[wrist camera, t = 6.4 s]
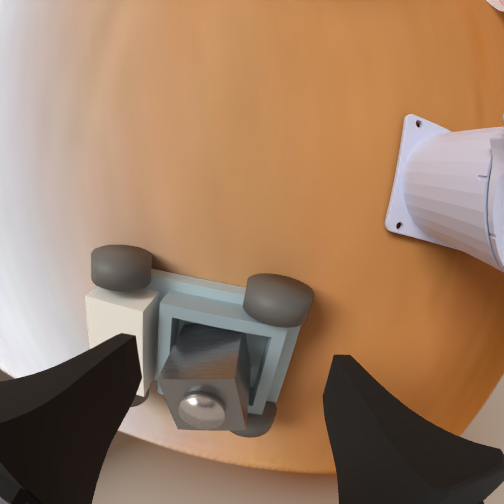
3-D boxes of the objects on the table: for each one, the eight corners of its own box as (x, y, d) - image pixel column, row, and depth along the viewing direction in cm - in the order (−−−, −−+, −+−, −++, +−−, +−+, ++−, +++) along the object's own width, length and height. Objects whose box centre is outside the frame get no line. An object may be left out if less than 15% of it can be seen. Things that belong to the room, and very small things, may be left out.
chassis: (309, 280, 19) (319, 308, 15) (271, 405, 22) (272, 442, 18) (109, 241, 19) (77, 258, 15) (113, 368, 22) (93, 398, 18)
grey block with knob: (243, 319, 19) (233, 386, 13) (251, 367, 20) (245, 437, 14) (184, 323, 19) (153, 386, 13) (197, 370, 20) (175, 436, 14)
